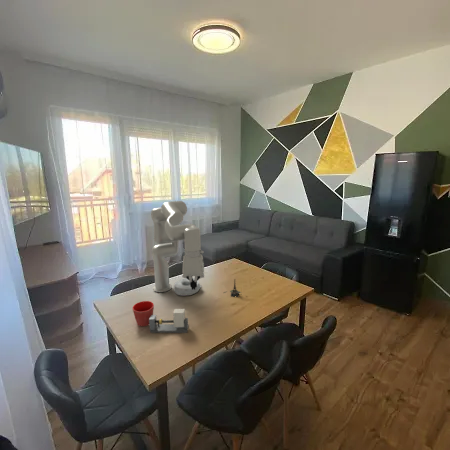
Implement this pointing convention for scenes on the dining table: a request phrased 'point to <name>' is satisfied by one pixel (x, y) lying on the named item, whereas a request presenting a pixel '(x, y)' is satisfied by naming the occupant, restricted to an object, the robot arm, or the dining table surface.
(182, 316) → the white sliding block
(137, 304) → the flower pot
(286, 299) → the dining table surface
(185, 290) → the cable
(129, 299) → the dining table surface
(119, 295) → the dining table surface
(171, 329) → the grey slider rail
